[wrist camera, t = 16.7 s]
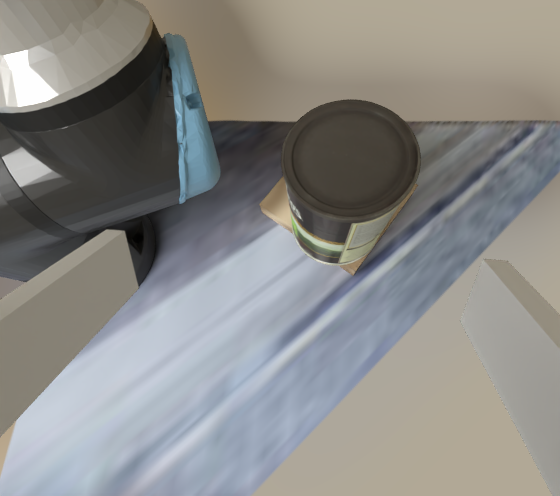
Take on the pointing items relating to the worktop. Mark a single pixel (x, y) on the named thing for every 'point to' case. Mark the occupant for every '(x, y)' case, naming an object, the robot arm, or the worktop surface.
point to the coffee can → (346, 177)
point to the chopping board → (279, 211)
